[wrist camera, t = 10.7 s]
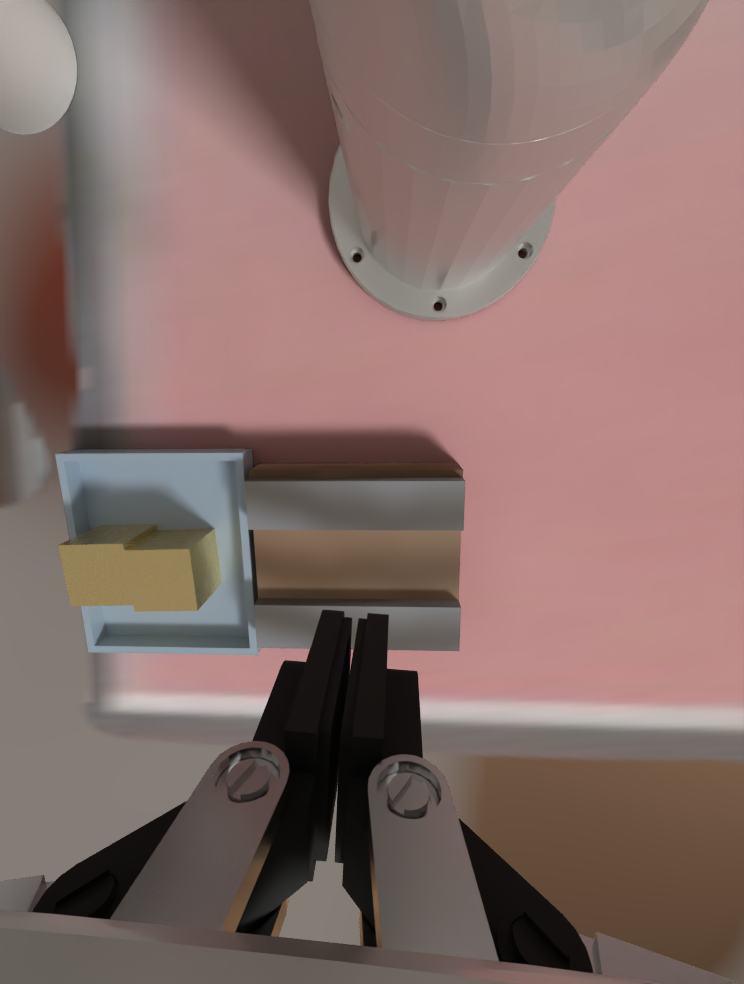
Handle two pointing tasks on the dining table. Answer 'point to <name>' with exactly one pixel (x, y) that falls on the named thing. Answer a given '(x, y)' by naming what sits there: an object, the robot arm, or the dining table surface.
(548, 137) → the robot arm
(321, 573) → the slot bed
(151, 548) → the light brown cube
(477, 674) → the dining table surface
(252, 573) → the tray
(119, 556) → the tan wooden cube
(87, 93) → the dining table surface
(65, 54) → the cylindrical container
